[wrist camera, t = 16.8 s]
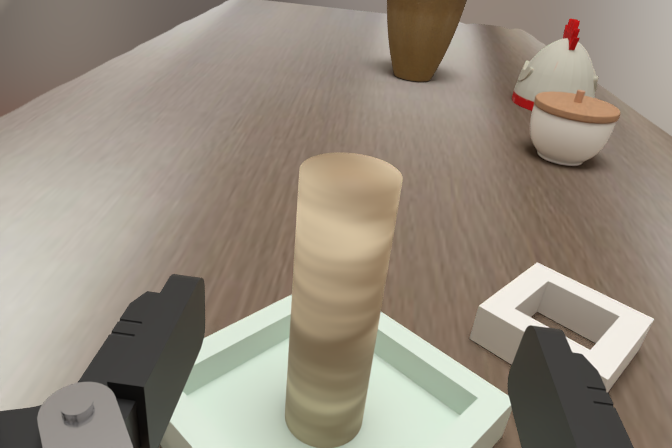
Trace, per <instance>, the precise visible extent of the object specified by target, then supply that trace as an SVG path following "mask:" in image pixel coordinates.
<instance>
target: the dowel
mask: <svg viewBox="0 0 672 448" xmlns="http://www.w3.org/2000/svg"><path fill="white" fill-rule="evenodd" d="M402 180H403V179H402V175H401V173H400V172H399V171H398V170H397V169H396V168H395V167H394V166H392V165H391V164H389V163H387V162H385V161H382V160H380V159H377V158H374V157H370V156H366V155H361V154H354V153H327V154H321V155H317V156H314V157H311V158H309V159H307V160H305V161H304V162H303V163H302V164H301V166H300V169H299V186H298V203H297V219H296V236H295V253H294V269H293V286H292V302H291V319H290V336H289V352H288V369H287V386H286V402H285V421H286V424H287V427H288V429H289V430H290V432H291V433H292V434H293V435H294V436H295V437H296V438H297V439H298V440H300V441H301V442H303V443H305V444H307V445H309V446H312V447H317V448H335V447H339V446H342V445H344V444H346V443H348V442H350V441H351V440H352V439H353V438H354V437H355V436H356V435H357V434H358V433H359V431H360V429H361V426H362V421H363V415H364V409H365V403H366V397H367V391H368V385H369V379H370V373H371V367H372V361H373V355H374V349H375V343H376V337H377V331H378V325H379V319H380V313H381V307H382V301H383V295H384V289H385V283H386V277H387V271H388V265H389V259H390V253H391V247H392V241H393V235H394V229H395V223H396V217H397V211H398V204H399V198H400V192H401V186H402Z"/></svg>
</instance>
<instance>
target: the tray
mask: <svg viewBox="0 0 672 448" xmlns="http://www.w3.org/2000/svg"><path fill="white" fill-rule="evenodd" d="M291 302H292V295H290V296H288V297H286V298H284V299H282V300H280V301H278V302H276V303H274V304H272V305H270V306H268V307H266V308H264V309H262V310H260V311H258V312H256V313H254V314H252V315H250V316H248V317H246V318H244V319H242V320H240V321H238V322H236V323H234V324H232V325H230V326H228V327H226V328H224V329H222V330H220V331H218V332H216V333H214V334H212V335H210V336H208V337H206V338H204V339H203V343H202V347H201V350H200V352H199V354H198V357H197V359H196V361H195V364H194V366H193V368H192V371H191V373H190V375H189V378H188V380H187V382H186V385H185V387H184V389H183V392H182V394H181V396H180V399H179V401H178V403H177V406H176V408H175V410H174V413H173V415H172V417H171V420H170V422H169V424H168V427H167V429H166V431H165V434H164V436H163V438H162V441H161V443H160V445H161V447H162V448H317V447H312V446H309V445H307V444H305V443H303V442H301V441H300V440H298V439H297V438H296V437H295V436H294V435H293V434H292V433H291V432H290V430H289V429H288V427H287V424H286V421H285V402H286V386H287V369H288V352H289V336H290V319H291ZM511 411H512V407H511V403H510V399H509V396H508V395H506V394H505V393H503V392H502V391H500V390H499V389H497V388H496V387H494V386H493V385H491V384H490V383H488V382H487V381H485V380H484V379H482V378H481V377H479V376H478V375H476V374H475V373H473V372H471V371H470V370H468V369H467V368H465V367H464V366H462V365H461V364H459V363H458V362H456V361H455V360H453V359H452V358H450V357H449V356H447V355H446V354H444V353H443V352H441V351H440V350H438V349H437V348H435V347H434V346H432V345H431V344H429V343H428V342H426V341H425V340H423V339H422V338H420V337H418V336H417V335H415V334H414V333H412V332H411V331H409V330H408V329H406V328H405V327H403V326H402V325H400V324H399V323H397V322H396V321H394V320H393V319H391V318H390V317H388V316H387V315H385V314H384V313H382V312H381V313H380V319H379V325H378V331H377V337H376V343H375V349H374V355H373V361H372V367H371V373H370V379H369V385H368V391H367V397H366V403H365V409H364V415H363V421H362V426H361V429H360V431H359V433H358V434H357V435H356V436H355V437H354V438H353V439H352V440H351V441H350V442H348V443H346V444H344V445H342V446H339V447H335V448H492V447H493V446H494V445H495V444H496V443H497V441H498V440H499V439H500V438H501V437H502V435H503V432H504V430H505V427H506V424H507V422H508V419H509V416H510V414H511Z"/></svg>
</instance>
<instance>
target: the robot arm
mask: <svg viewBox="0 0 672 448" xmlns="http://www.w3.org/2000/svg"><path fill="white" fill-rule="evenodd" d="M204 333H205V286H204V280H203V278H198V277H191V276H184V275H177V274H172V275H171V276H170V277H169V279H168V281H167V282H166V284H165V286H164V287H163V289H162V291H161V292H160V293H156V292H148V291H147V292H146V293H144V294H143V295H141V296H140V297H139V298H137V299H136V300H134V301H133V302H131V303H130V304H129V306H128V307H127V309H126V310H125V312H124V313H123V315H122V316H121V318H120V321H119V322H117V324H116V325H115V327H114V329H113V330H112V333H111V335H109V336H108V338H107V339H106V341H105V342H104V344H103V345H102V347H101V348H100V350H99V351H98V353H97V354H96V356H95V357H94V359H93V360H92V362H91V363H90V365H89V366H88V368H87V369H86V371H85V372H84V374H83V375H82V377H81V378H80V380H79V381H78V383H75V384H71V385H68V386H66V387H63V388H61V389H59V390H58V391H56V392H55V393H53V394H52V395H51V396H50V397H48V398H47V399H46V401H45V402H44V403H43V404H42V405H40V406H36V407H31V408H23V409H15V410H7V411H0V448H159V445H160V443H161V441H162V438H163V436H164V434H165V431H166V429H167V427H168V424H169V422H170V420H171V417H172V415H173V413H174V410H175V408H176V406H177V403H178V401H179V399H180V396H181V394H182V392H183V389H184V387H185V385H186V382H187V380H188V378H189V375H190V373H191V371H192V368H193V366H194V364H195V361H196V359H197V357H198V354H199V352H200V350H201V347H202V343H203V339H204ZM508 395H509V399H510V403H511V407H512V411H513V415H514V419H515V423H516V427H517V431H518V435H519V439H520V443H521V447H522V448H634V447H633V445H632V443H631V441H630V439H629V437H628V434H627V432H626V430H625V428H624V426H623V424H622V421H621V419H620V417H619V415H618V413H617V411H616V409H615V408H613V402H612V400H611V398H610V396H609V393H607V392H606V387H605V385H604V383H603V381H602V378H601V376H600V374H599V372H598V370H597V369H596V368H595V367H594V366H593V365H592V364H591V363H590V362H589V361H588V360H587V359H586V358H585V356H584V355H583V354H580V353H573V352H572V350H571V348H570V346H569V343H568V341H567V339H566V336H565V334H564V332H563V331H562V330H560V329H554V328H547V327H539V326H532V325H529V326H528V327H527V328H526V330H525V332H524V334H523V337H522V339H521V342H520V345H519V347H518V350H517V352H516V355H515V358H514V360H513V363H512V366H511V368H510V371H509V376H508Z"/></svg>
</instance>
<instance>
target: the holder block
mask: <svg viewBox="0 0 672 448" xmlns="http://www.w3.org/2000/svg"><path fill="white" fill-rule="evenodd" d="M536 312H539V313H541V314H542V315H544V316H546V317H548V318H550V319H552V320H553V321H555V322H557V323H559V324H561V325H563V326H565V327H566V328H568V329H570V330H572V331H574V332H576V333H578V334H579V335H581V336H583V337H585V338H587V339H589V340H590V341H592V342H594V343H596V344H595V345H594V347H593V348H592V349H591V350H589V349H587V348H585V347H583V346H582V345H580V344H578V343H576V342H574V341H572V340H571V339H569V338H567V337H566V339H567V341H568V343H569V346H570V348H571V350H572V352H573V353H580V354H583V355H584V356H585V358H586V359H587V360H588V361H589V362H590V363H591V364H592V365H593V366H594V367H595V368H596V369H597V370H598V372H599V374H600V376H601V378H602V381H603V383H604V385H605V387H606V392H607V393H608V391H609V390H610V389H611V387H612V386H613V385H614V383H615V382H616V381H617V379H618V378H619V376H620V375H621V374H622V372H623V371H624V370H625V368H626V367H627V366H628V364H629V363H630V362H631V360H632V359H633V357H634V356H635V355H636V353H637V352H638V351H639V349H640V347H641V345H642V343H643V341H644V339H645V337H646V335H647V333H648V331H649V329H650V327H651V325H652V323H653V321H654V319H653V318H651V317H649V316H647V315H645V314H643V313H641V312H639V311H636V310H634V309H632V308H630V307H628V306H626V305H624V304H622V303H620V302H618V301H616V300H614V299H612V298H610V297H607V296H605V295H603V294H601V293H599V292H597V291H595V290H593V289H591V288H589V287H587V286H585V285H583V284H581V283H578V282H576V281H574V280H572V279H570V278H568V277H566V276H564V275H562V274H560V273H558V272H556V271H554V270H552V269H550V268H547V267H545V266H543V265H541V264H539V263H536V264H534V265H533V266H532V267H530V268H529V269H528V270H526V271H525V272H524V273H522V274H521V275H520V276H518V277H517V278H516V279H514V280H513V281H512V282H510V283H509V284H508V285H506V286H505V287H504V288H502V289H501V290H500V291H498V292H497V293H495V294H494V295H493V296H491V297H490V298H489V299H487V300H486V301H485V302H483V303H482V304H481V305H479V307H478V311H477V314H476V318H475V321H474V324H473V328H472V331H471V335H470V338H469V339H471V340H472V341H474V342H476V343H477V344H479V345H480V346H482V347H484V348H485V349H487V350H489V351H490V352H492V353H493V354H495V355H497V356H498V357H500V358H501V359H503V360H505V361H506V362H508V363H509V364H511V365H512V363H513V360H514V358H515V355H516V352H517V350H518V347H519V345H520V342H521V339H522V337H523V334H524V332H525V330H526V328H527V327H528V326H529V325H532V326H539V327H547V326H545V325H543V324H542V323H540V322H538V321H536V320H534V319H533V318H531V317H532V316H533V315H534V314H535V313H536ZM547 328H549V327H547Z"/></svg>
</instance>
